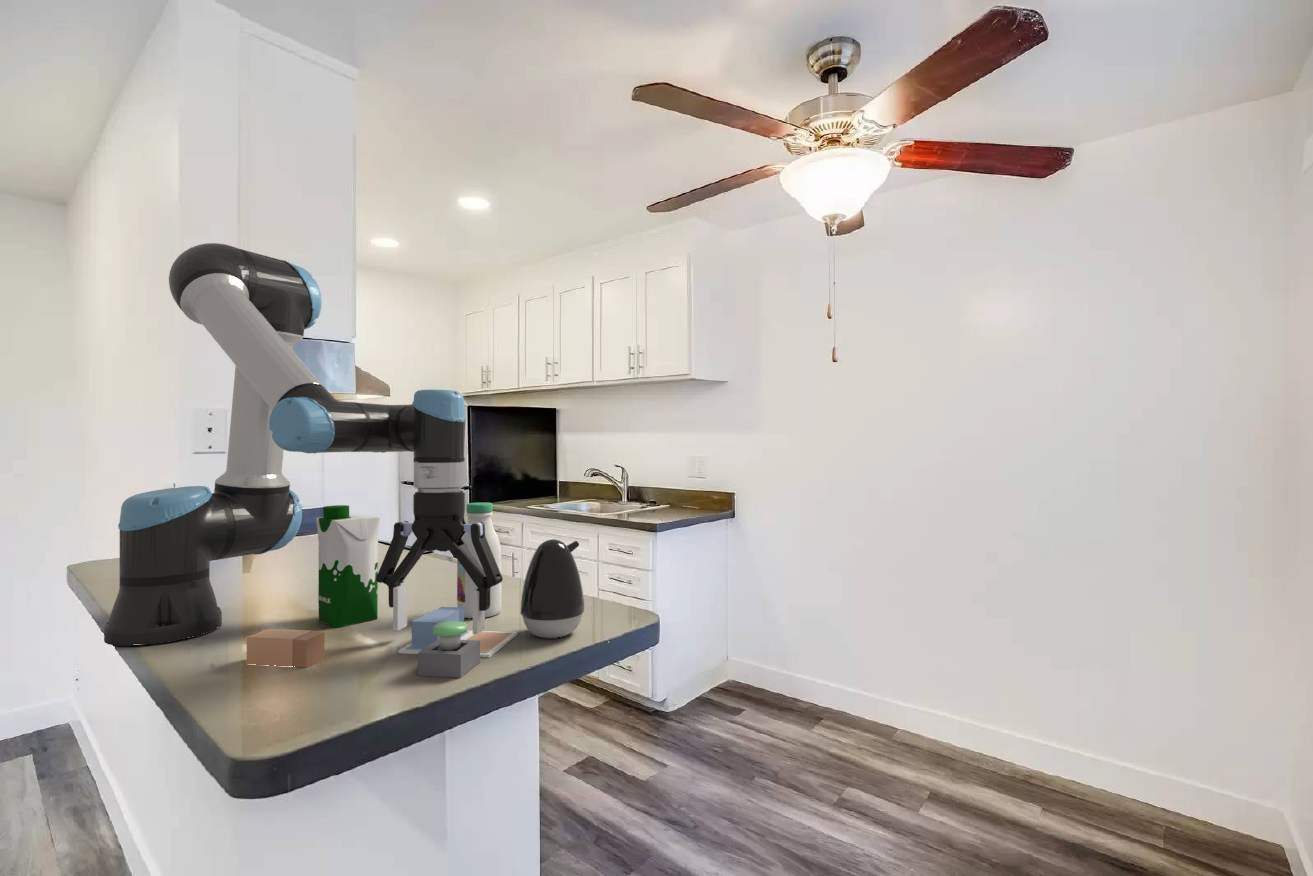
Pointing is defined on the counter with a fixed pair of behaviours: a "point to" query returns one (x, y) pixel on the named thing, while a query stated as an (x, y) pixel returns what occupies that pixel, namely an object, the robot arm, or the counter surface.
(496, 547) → the milk bottle
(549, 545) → the pump dispenser
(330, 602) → the milk carton
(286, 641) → the block
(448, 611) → the block
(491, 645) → the picture board
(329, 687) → the counter surface
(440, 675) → the button housing
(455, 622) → the button
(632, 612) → the counter surface
